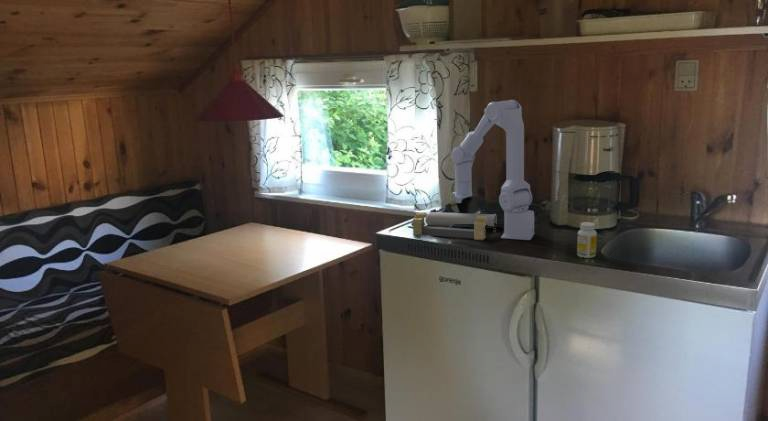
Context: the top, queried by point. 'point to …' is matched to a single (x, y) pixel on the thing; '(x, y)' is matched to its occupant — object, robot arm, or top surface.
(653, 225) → the top surface
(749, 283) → the top surface
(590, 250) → the supplement bottle
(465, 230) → the dark gray bar
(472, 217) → the tube
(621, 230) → the top surface
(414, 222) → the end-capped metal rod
